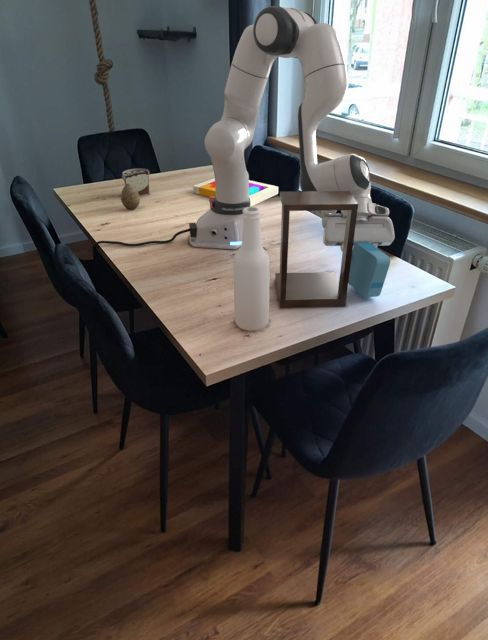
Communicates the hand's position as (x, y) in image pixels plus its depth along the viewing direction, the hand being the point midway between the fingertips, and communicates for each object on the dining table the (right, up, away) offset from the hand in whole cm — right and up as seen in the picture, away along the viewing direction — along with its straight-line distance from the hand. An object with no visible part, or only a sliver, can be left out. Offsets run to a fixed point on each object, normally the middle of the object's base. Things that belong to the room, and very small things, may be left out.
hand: (359, 259), depth 138 cm
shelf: (-15, -10, +1) cm, 17 cm away
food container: (-82, +41, +69) cm, 115 cm away
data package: (0, -9, +1) cm, 9 cm away
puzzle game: (-42, +40, +69) cm, 90 cm away
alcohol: (-31, -19, -12) cm, 38 cm away
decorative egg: (-80, +30, +55) cm, 101 cm away
